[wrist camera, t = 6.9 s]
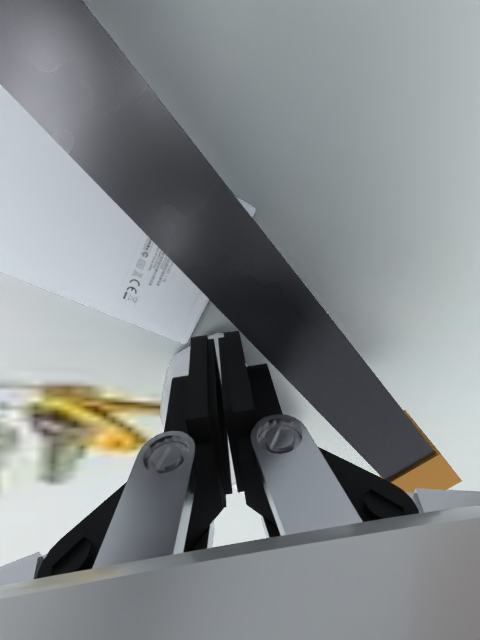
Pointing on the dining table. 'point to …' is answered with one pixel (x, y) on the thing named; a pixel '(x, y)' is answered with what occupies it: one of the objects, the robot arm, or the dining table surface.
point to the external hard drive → (83, 236)
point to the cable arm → (200, 224)
